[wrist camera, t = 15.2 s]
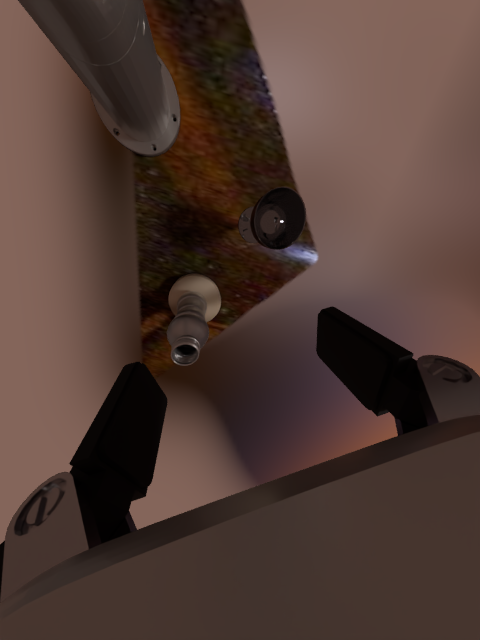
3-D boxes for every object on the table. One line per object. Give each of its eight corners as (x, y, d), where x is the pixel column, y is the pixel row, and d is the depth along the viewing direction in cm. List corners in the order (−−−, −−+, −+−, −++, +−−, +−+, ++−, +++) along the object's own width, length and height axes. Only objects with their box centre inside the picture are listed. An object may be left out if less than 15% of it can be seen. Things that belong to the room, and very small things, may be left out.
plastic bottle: (172, 303, 39) (147, 359, 22) (191, 282, 38) (180, 323, 20) (194, 319, 42) (188, 380, 24) (212, 300, 41) (220, 350, 23)
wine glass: (256, 194, 35) (286, 170, 22) (277, 226, 39) (315, 222, 26) (229, 224, 37) (243, 218, 24) (252, 252, 40) (276, 260, 27)
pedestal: (161, 281, 39) (158, 285, 37) (211, 267, 40) (211, 269, 37) (182, 324, 45) (181, 330, 43) (225, 311, 46) (226, 316, 43)
